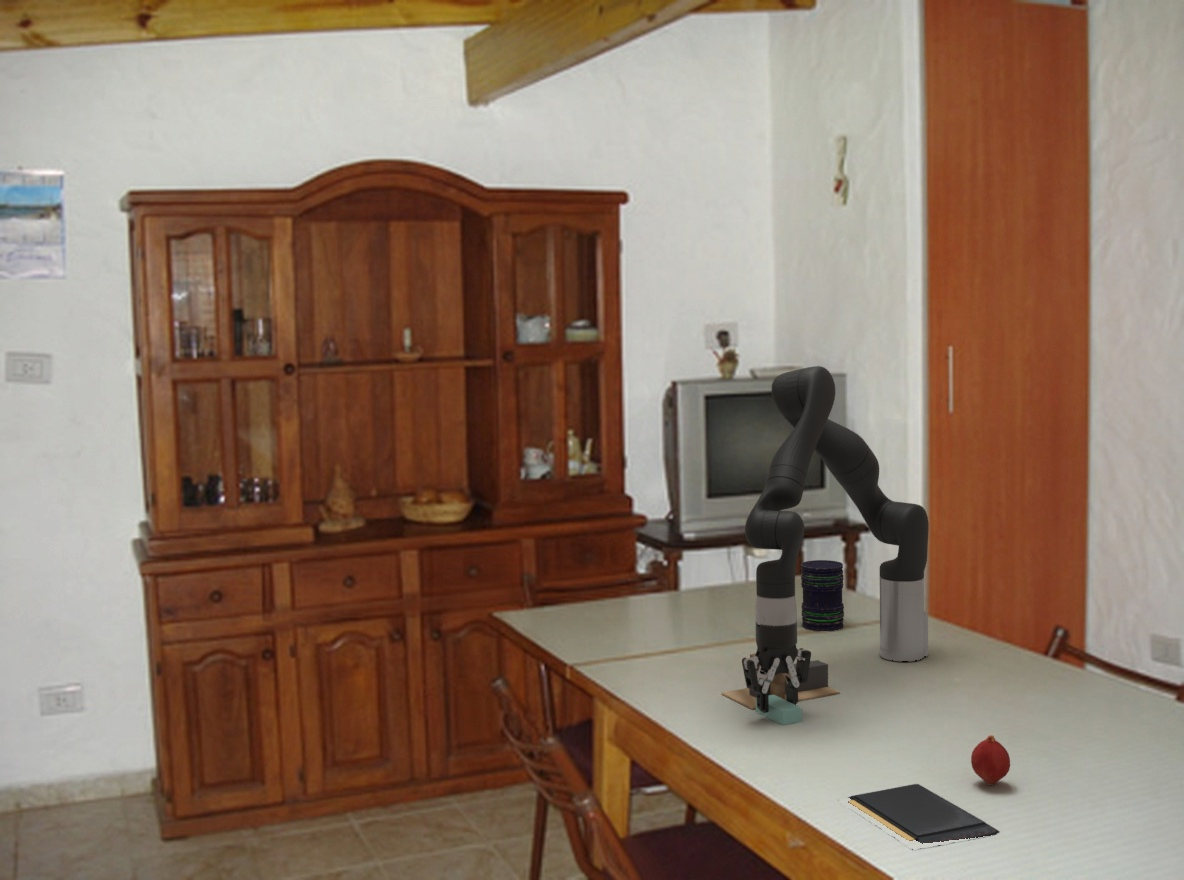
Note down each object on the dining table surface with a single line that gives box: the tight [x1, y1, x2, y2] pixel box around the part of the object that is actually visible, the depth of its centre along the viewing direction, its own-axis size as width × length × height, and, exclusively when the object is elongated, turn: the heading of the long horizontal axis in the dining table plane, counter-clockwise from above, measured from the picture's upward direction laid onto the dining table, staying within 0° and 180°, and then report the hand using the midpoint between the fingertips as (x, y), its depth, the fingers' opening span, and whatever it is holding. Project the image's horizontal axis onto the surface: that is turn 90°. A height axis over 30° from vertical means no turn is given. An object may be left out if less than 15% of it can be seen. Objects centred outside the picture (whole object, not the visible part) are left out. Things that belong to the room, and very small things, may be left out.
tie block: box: [755, 695, 803, 726], centre depth 227 cm, size 4×9×3 cm, turn 25°
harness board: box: [721, 653, 841, 711], centre depth 240 cm, size 20×11×7 cm, turn 115°
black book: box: [847, 783, 1000, 844], centre depth 181 cm, size 20×2×15 cm
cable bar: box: [749, 659, 829, 698], centre depth 241 cm, size 16×4×4 cm, turn 115°
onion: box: [970, 734, 1011, 786], centre depth 192 cm, size 6×6×8 cm
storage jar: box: [800, 559, 845, 632], centre depth 291 cm, size 10×10×15 cm
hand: (777, 708), depth 227 cm, fingers open, 5 cm apart
